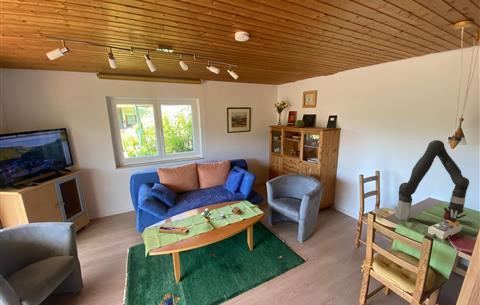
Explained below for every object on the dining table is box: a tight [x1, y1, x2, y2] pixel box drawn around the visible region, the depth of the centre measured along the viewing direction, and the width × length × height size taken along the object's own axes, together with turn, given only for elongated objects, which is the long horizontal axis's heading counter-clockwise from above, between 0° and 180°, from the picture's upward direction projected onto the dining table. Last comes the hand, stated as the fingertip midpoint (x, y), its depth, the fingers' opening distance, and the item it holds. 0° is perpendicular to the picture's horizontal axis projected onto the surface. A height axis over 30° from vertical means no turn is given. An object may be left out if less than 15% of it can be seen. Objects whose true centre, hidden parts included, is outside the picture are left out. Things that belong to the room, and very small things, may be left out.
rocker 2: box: [449, 220, 460, 226], centre depth 157 cm, size 6×4×2 cm, turn 112°
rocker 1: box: [437, 224, 448, 231], centre depth 151 cm, size 6×4×2 cm, turn 112°
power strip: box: [427, 220, 463, 240], centre depth 155 cm, size 32×9×6 cm, turn 112°
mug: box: [442, 206, 451, 221], centre depth 173 cm, size 12×9×10 cm
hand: (452, 221), depth 156 cm, fingers closed
